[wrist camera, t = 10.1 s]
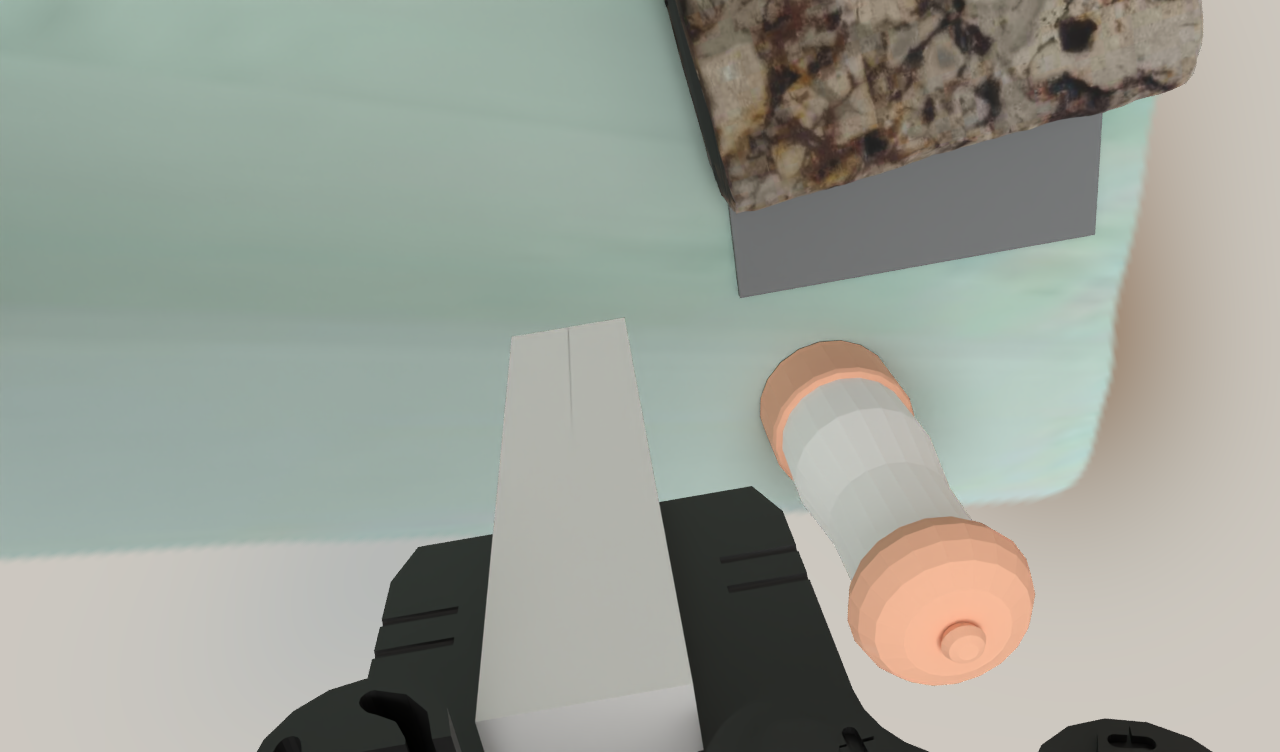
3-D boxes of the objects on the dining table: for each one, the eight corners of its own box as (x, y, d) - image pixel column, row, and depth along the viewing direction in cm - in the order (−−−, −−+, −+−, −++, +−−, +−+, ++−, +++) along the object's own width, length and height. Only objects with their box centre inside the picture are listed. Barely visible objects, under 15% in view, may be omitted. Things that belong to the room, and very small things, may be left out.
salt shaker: (831, 313, 48) (987, 532, 31) (920, 395, 50) (1110, 639, 33) (731, 409, 50) (824, 665, 33) (822, 483, 52) (953, 757, 35)
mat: (739, 295, 47) (740, 298, 47) (678, -214, 37) (679, -215, 37) (1090, 232, 47) (1095, 234, 47) (1122, -293, 37) (1127, -295, 37)
